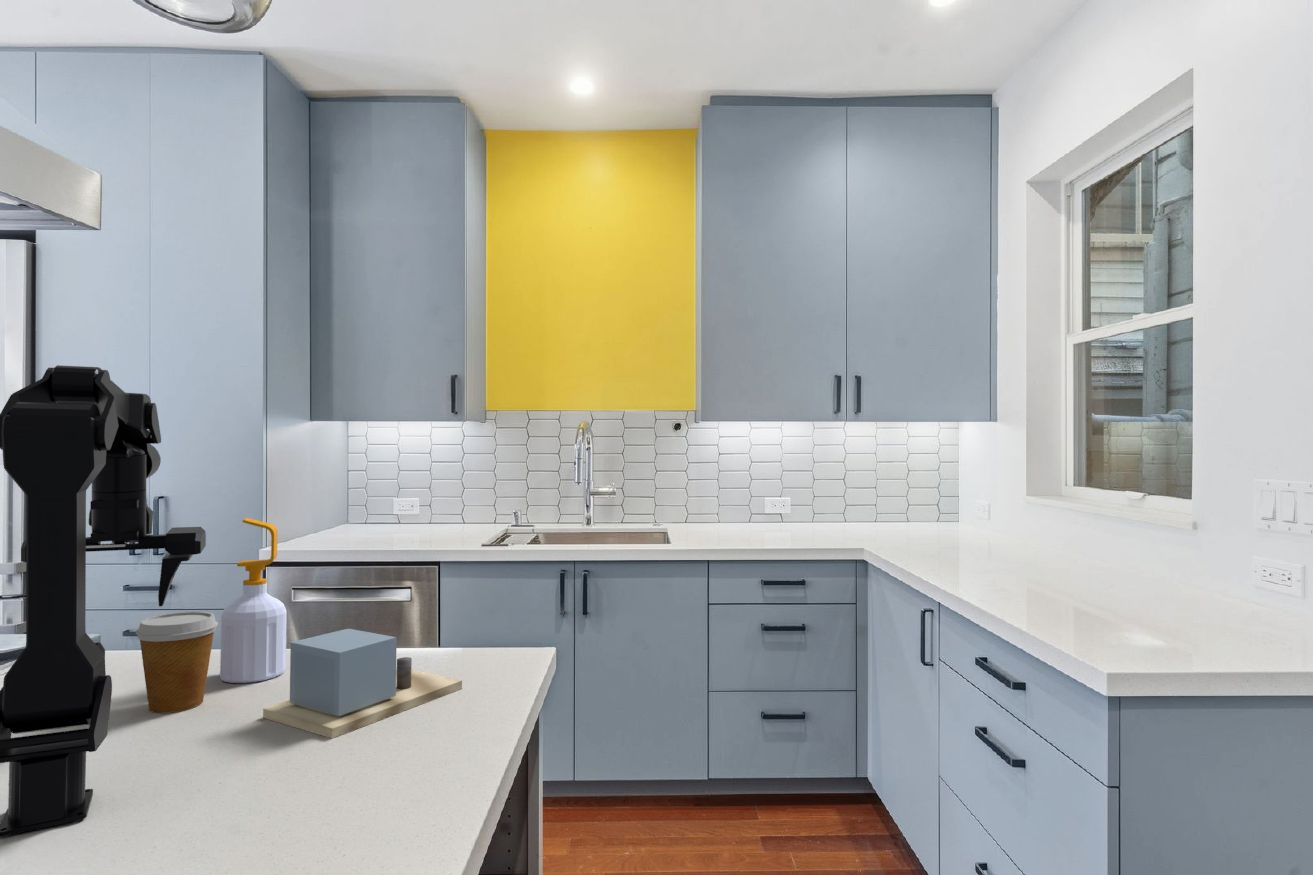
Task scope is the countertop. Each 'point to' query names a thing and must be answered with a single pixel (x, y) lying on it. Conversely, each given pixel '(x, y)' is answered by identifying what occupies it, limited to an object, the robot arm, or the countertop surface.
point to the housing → (342, 671)
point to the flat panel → (409, 694)
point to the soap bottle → (254, 626)
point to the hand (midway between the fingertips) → (119, 608)
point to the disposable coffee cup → (176, 659)
